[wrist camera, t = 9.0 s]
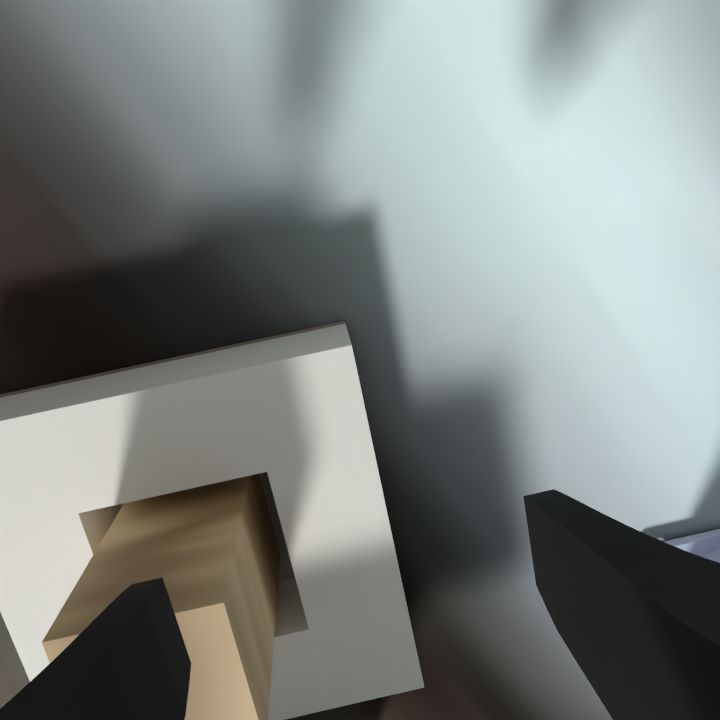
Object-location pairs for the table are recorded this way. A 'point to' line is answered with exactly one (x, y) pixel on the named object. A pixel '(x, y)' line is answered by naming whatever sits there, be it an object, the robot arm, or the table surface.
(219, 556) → the oak peg
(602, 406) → the table surface
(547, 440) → the table surface
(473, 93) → the table surface
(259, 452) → the socket block
